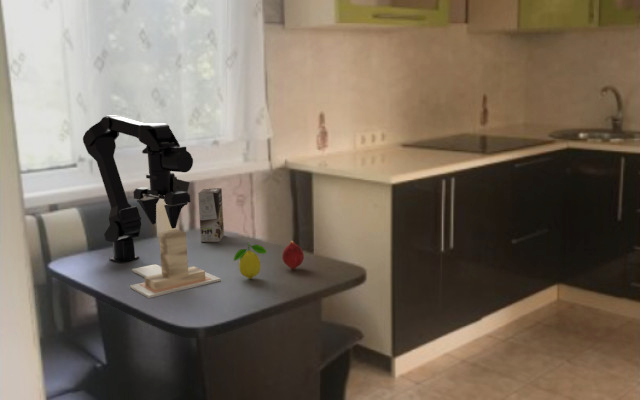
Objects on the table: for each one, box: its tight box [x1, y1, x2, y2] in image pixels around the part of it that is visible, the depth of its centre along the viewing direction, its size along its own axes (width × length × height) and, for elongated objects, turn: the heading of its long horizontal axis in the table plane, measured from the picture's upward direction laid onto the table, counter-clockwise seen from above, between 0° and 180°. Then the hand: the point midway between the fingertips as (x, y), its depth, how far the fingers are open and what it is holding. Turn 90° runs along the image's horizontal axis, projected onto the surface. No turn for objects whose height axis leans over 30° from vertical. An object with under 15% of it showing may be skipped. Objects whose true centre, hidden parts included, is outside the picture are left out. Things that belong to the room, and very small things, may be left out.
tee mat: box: [129, 263, 221, 299], centre depth 178 cm, size 25×20×1 cm
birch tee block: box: [144, 228, 206, 290], centre depth 171 cm, size 6×14×13 cm, turn 129°
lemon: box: [233, 241, 268, 280], centre depth 174 cm, size 7×6×10 cm
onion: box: [281, 240, 305, 270], centre depth 182 cm, size 6×6×8 cm
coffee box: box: [198, 187, 225, 243], centre depth 219 cm, size 9×6×16 cm
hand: (163, 226), depth 186 cm, fingers open, 9 cm apart
